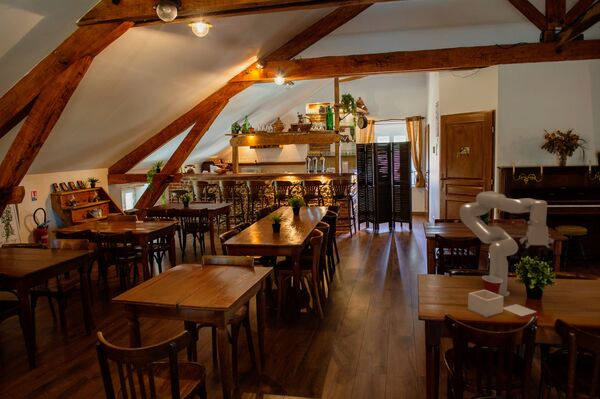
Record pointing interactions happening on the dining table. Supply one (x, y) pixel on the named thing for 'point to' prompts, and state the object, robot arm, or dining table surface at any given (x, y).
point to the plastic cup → (492, 283)
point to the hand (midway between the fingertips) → (535, 254)
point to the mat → (519, 310)
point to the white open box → (485, 303)
